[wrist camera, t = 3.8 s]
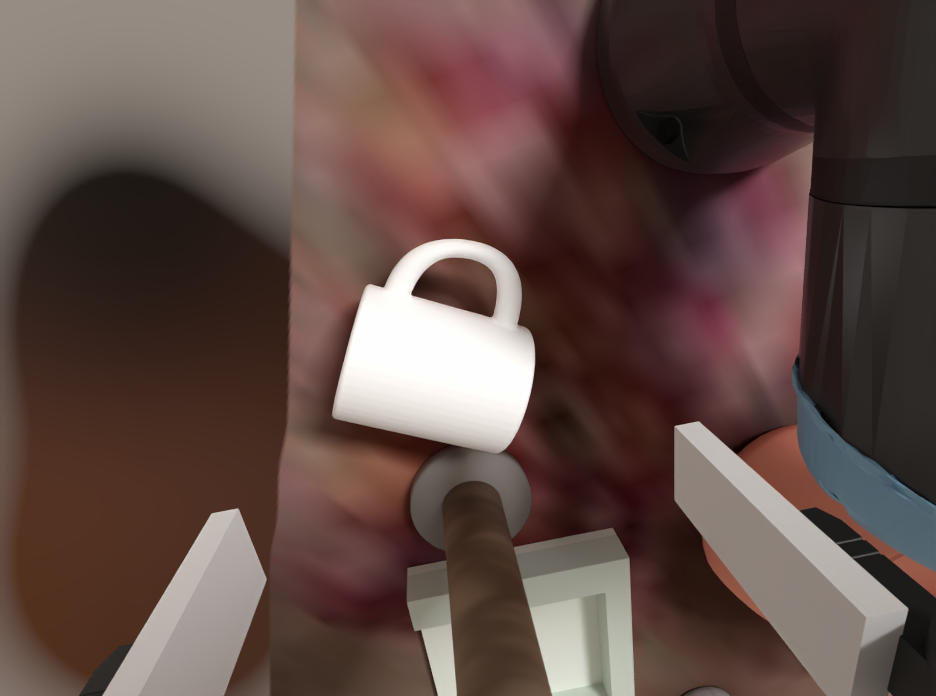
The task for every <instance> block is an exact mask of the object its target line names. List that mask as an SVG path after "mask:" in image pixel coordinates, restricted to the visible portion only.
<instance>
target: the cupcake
mask: <svg viewBox="0 0 936 696" xmlns="http://www.w3.org/2000/svg"><path fill="white" fill-rule="evenodd" d="M683 696H730V695H729V694H728V693H727V692H725V691H724V690H722V689H720V688H717V687H702V688H698V689H695V690H692V691H690V692H688V693H686V694H685V695H683Z"/></svg>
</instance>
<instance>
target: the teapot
mask: <svg viewBox="0 0 936 696" xmlns="http://www.w3.org/2000/svg"><path fill="white" fill-rule="evenodd" d="M737 456H738V457H739V458H741V459H742V460H743V461H744V462H745V463H746V464H747V465H748V466H749V467H751V468H752V469H753V470H754V471H755V472H756V473H757V474H758V475H760V476H761V477H762V478H763V479H764V480H765V481H766V482H767V483H768V484H770V485H771V486H772V487H773V488H774V489H775V490H776V491H777V492H779V493H780V494H781V495H782V496H783V497H784V498H785V499H786V500H787V501H789V502H790V503H791V504H792V505H793V506H794V507H795V508H796V509H798V510H804V509H809V508H814V507H817V508H819V509H821V510H823V511H825V512H827V513H829V514H831V515H833V516H835V517H837V518H839V519H841V520H842V521H843V522H845V523H846V524H847V525H848V526H850V527H851V528H852V529H853V530H854V531H856V532H857V533H858V534H859V535H860V536H862V539H863V540H866V541H868V542H869V543H870V544H871V545H873V546H874V547H875V548H876V549H877V550H879V553H880V554H883V555H885V556H886V557H887V558H888V559H889V560H891V561H892V562H893V563H894V564H896V565H897V566H898V567H899V568H900V569H902V570H903V571H904V572H905V573H906V574H908V575H909V576H910V577H911V578H913V579H914V580H915V581H916V582H917V583H919V584H920V585H921V586H922V587H923V588H925V589H926V590H927V591H928V592H929V593H931V594H932V595H933V596H934V597H936V572H934V571H932V570H930V569H928V568H926V567H924V566H923V565H921V564H919V563H917V562H915V561H913V560H911V559H910V558H908V557H906V556H905V555H903V554H901V553H899V552H898V551H896V550H894V549H893V548H891V547H890V546H888V545H887V544H885V543H884V542H882V541H881V540H879V539H878V538H876V537H875V536H873V535H872V534H871V533H869V532H868V531H867V530H865V529H864V528H863V527H861V526H860V525H859V524H857V523H856V522H855V521H854V520H853V519H852V518H851V517H850V516H849V514H848V513H847V511H846V509H845V507H844V506H843V505H841V504H840V503H838V502H837V501H835V500H834V499H832V498H831V497H830V496H828V495H827V494H826V493H825V492H824V491H823V490H822V489H821V487H820V486H819V485H818V484H817V482H816V481H815V479H814V478H813V476H812V475H811V473H810V472H809V470H808V468H807V466H806V464H805V462H804V460H803V457H802V455H801V452H800V448H799V444H798V437H797V424H794V425H789V426H785V427H781V428H778V429H775V430H772V431H770V432H767V433H765V434H763V435H761V436H760V437H758V438H756V439H755V440H753V441H752V442H751V443H749V444H748V445H747V446H746V447H744V448H743V449H742V450H741V451H740V452H739V453H738V454H737ZM702 540H703V548H704V551H705V555H706V558H707V561H708V563H709V565H710V566H711V568H712V570H713V571H714V572H715V574H716V575H717V576H718V577H719V579H720V580H721V581H722V582H723V583H724V584H725V585H726V586H727V587H728V588H729V589H730V590H731V591H732V592H733V593H734V594H735V595H736V596H737V597H738V598H739V599H740V600H741V601H743V602H744V603H745V604H746V605H747V606H748V607H750V608H751V609H752V610H753V611H755V612H756V613H757V614H759V615H760V616H761V617H763V618H764V619H766V617H765V616H764V615H763V613H762V612H761V611H760V610H759V608H758V607H757V606H756V604H755V603H754V602H753V601H752V599H751V598H750V597H749V595H748V594H747V593H746V592H745V590H744V589H743V588H742V586H741V585H740V584H739V583H738V581H737V580H736V579H735V577H734V576H733V575H732V574H731V572H730V571H729V570H728V568H727V567H726V566H725V565H724V563H723V562H722V561H721V559H720V558H719V557H718V556H717V554H716V553H715V552H714V550H713V549H712V548H711V547H710V545H709V544H708V543H707V541H706V540H705V539H704V538H703V536H702ZM766 620H767V619H766ZM767 621H768V620H767Z"/></svg>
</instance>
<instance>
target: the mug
mask: <svg viewBox="0 0 936 696" xmlns="http://www.w3.org/2000/svg"><path fill="white" fill-rule="evenodd" d="M445 258H466V259H471V260H475V261H478V262H480V263H483V264H484V265H486V266H487V267H488V268H490V270H491V271H492V272H493V274H494V276H495V279H496V284H497V299H496V306H495V310H494V314H493V316H492V317H487V316H484V315H480V314H477V313H473V312H469V311H466V310H462V309H458V308H455V307H451V306H448V305H444V304H440V303H437V302H433V301H429V300H426V299H422V298H419V297H415V296H412V295H411V293H412V290H413V288H414V286H415V284H416V282H417V281H418V279H419V278H420V276H421V275H422V274H423V272H424V271H425V270H426V269H427V268H428V267H430V266H431V265H432V264H434V263H435V262H437V261H439V260H442V259H445ZM521 302H522V288H521V282H520V278H519V275H518V272H517V270H516V268H515V266H514V265H513V263H512V262H511V261H510V260H509V259H508V258H507V257H506V256H505V255H504V254H503V253H501V252H500V251H498V250H497V249H495V248H493V247H491V246H489V245H486V244H483V243H480V242H475V241H470V240H463V239H443V240H437V241H432V242H429V243H425V244H423V245H421V246H418V247H416V248H415V249H413V250H411V251H410V252H409V253H407V254H406V255H405V256H404V257H403V258H402V259H401V260H400V261H399V262H398V263H397V265H396V266H395V267H394V269H393V271H392V272H391V274H390V276H389V278H388V280H387V282H386V285H385V287H383V288H382V287H379V286H375V285H372V284H369V285H367V286H366V287H365V289H364V292H363V295H362V298H361V301H360V304H359V307H358V311H357V314H356V318H355V321H354V325H353V328H352V332H351V335H350V339H349V343H348V347H347V350H346V354H345V358H344V362H343V366H342V370H341V374H340V378H339V382H338V386H337V391H336V395H335V400H334V405H333V410H332V416H333V417H334V418H335V419H338V420H342V421H347V422H351V423H356V424H361V425H365V426H370V427H374V428H379V429H383V430H388V431H393V432H397V433H402V434H406V435H411V436H416V437H420V438H425V439H429V440H434V441H439V442H443V443H448V444H452V445H457V446H462V447H466V448H471V449H475V450H480V451H485V452H489V453H494V454H496V453H500V452H502V451H503V450H504V449H506V448H507V446H508V445H509V444H510V443H511V441H512V440H513V438H514V437H515V435H516V433H517V431H518V429H519V427H520V425H521V422H522V420H523V417H524V414H525V411H526V408H527V405H528V401H529V397H530V393H531V389H532V383H533V377H534V368H535V346H534V340H533V337H532V334H531V332H530V331H529V330H528V329H527V328H526V327H523V326H520V325H518V319H519V315H520V310H521Z"/></svg>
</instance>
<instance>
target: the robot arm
mask: <svg viewBox="0 0 936 696" xmlns="http://www.w3.org/2000/svg"><path fill="white" fill-rule="evenodd" d="M597 58H598V68H599V75H600V79H601V84H602V88H603V91H604V95H605V98H606V100H607V103H608V106H609V108H610V110H611V112H612V115H613V116H614V118H615V120H616V122H617V124H618V125H619V127H620V128H621V130H622V131H623V132H624V134H625V135H626V136H627V138H628V139H629V140H630V141H631V142H632V143H633V144H634V145H635V146H636V147H637V148H638V149H639V150H640V151H641V152H643V153H644V154H645V155H647V156H648V157H650V158H651V159H653V160H654V161H656V162H658V163H660V164H662V165H664V166H667V167H669V168H672V169H675V170H678V171H683V172H688V173H698V174H728V173H737V172H742V171H747V170H751V169H755V168H758V167H762V166H764V165H767V164H770V163H772V162H774V161H777V160H779V159H781V158H783V157H785V156H787V155H789V154H791V153H793V152H794V151H796V150H798V149H800V148H802V147H804V146H806V145H808V144H810V143H812V142H813V159H812V176H811V189H810V193H809V205H808V221H807V237H806V253H805V269H804V284H803V300H802V316H801V332H800V348H799V354H798V355H797V357H796V360H795V364H794V366H793V367H792V384H793V387H794V390H795V393H796V395H797V437H798V444H799V448H800V452H801V455H802V457H803V460H804V462H805V464H806V466H807V468H808V470H809V472H810V473H811V475H812V476H813V478H814V479H815V481H816V482H817V484H818V485H819V486H820V487H821V489H822V490H823V491H824V492H825V493H826V494H827V495H828V496H830V497H831V498H832V499H834V500H835V501H837V502H838V503H840V504H841V505H843V506H844V507H845V509H846V511H847V513H848V514H849V516H850V517H851V518H852V519H853V520H854V521H855V522H856V523H857V524H859V525H860V526H861V527H863V528H864V529H865V530H867V531H868V532H869V533H871V534H872V535H873V536H875V537H876V538H878V539H879V540H881V541H882V542H884V543H885V544H887V545H888V546H890V547H891V548H893V549H894V550H896V551H898V552H899V553H901V554H903V555H905V556H906V557H908V558H910V559H911V560H913V561H915V562H917V563H919V564H921V565H923V566H924V567H926V568H928V569H930V570H932V571H934V572H936V0H602V3H601V7H600V13H599V20H598V29H597ZM674 500H675V502H676V503H677V504H678V505H679V507H680V508H681V509H682V511H683V512H684V513H685V514H686V516H687V517H688V518H689V520H690V521H691V522H692V523H693V525H694V526H695V527H696V529H697V530H698V531H699V532H700V534H701V535H702V536H703V538H704V539H705V540H706V541H707V543H708V544H709V545H710V547H711V548H712V549H713V550H714V552H715V553H716V554H717V556H718V557H719V558H720V559H721V561H722V562H723V563H724V565H725V566H726V567H727V568H728V570H729V571H730V572H731V574H732V575H733V576H734V577H735V579H736V580H737V581H738V583H739V584H740V585H741V586H742V588H743V589H744V590H745V592H746V593H747V594H748V595H749V597H750V598H751V599H752V601H753V602H754V603H755V604H756V606H757V607H758V608H759V610H760V611H761V612H762V613H763V615H764V616H765V617H766V619H767V620H768V621H769V622H770V624H771V625H772V626H773V628H774V629H775V630H776V631H777V633H778V634H779V635H780V637H781V638H782V639H783V640H784V642H785V643H786V644H787V646H788V647H789V648H790V649H791V651H792V652H793V653H794V655H795V656H796V657H797V658H798V660H799V661H800V662H801V664H802V665H803V666H804V667H805V669H806V670H807V671H808V673H809V674H810V675H811V676H812V678H813V679H814V680H815V682H816V683H817V684H818V685H819V687H820V688H821V689H822V691H823V692H824V693H825V694H826V696H888V692H890V693H891V694H892V695H893V696H936V597H934V596H933V595H932V594H931V593H929V592H928V591H927V590H926V589H925V588H923V587H922V586H921V585H920V584H919V583H917V582H916V581H915V580H914V579H913V578H911V577H910V576H909V575H908V574H906V573H905V572H904V571H903V570H902V569H900V568H899V567H898V566H897V565H896V564H894V563H893V562H892V561H891V560H889V559H888V558H887V557H886V556H885V555H883V554H880V553H879V550H877V549H876V548H875V547H874V546H873V545H871V544H870V543H869V542H868V541H866V540H863V539H862V536H860V535H859V534H858V533H857V532H856V531H854V530H853V529H852V528H851V527H850V526H848V525H847V524H846V523H845V522H843V521H842V520H841V519H839V518H837V517H835V516H833V515H831V514H829V513H827V512H825V511H823V510H821V509H819V508H817V507H814V508H809V509H804V510H798V509H796V508H795V507H794V506H793V505H792V504H791V503H790V502H789V501H787V500H786V499H785V498H784V497H783V496H782V495H781V494H780V493H779V492H777V491H776V490H775V489H774V488H773V487H772V486H771V485H770V484H768V483H767V482H766V481H765V480H764V479H763V478H762V477H761V476H760V475H758V474H757V473H756V472H755V471H754V470H753V469H752V468H751V467H749V466H748V465H747V464H746V463H745V462H744V461H743V460H742V459H741V458H739V457H738V456H737V455H736V454H735V453H734V452H733V451H732V450H730V449H729V448H728V447H727V446H726V445H725V444H724V443H723V442H721V441H720V440H719V439H718V438H717V437H716V436H715V435H714V434H713V433H711V432H710V431H709V430H708V429H707V428H706V427H705V426H704V425H702V424H701V423H700V422H699V421H698V422H693V423H688V424H683V425H677V426H674ZM266 580H267V579H266V576H265V574H264V571H263V569H262V566H261V564H260V561H259V559H258V556H257V554H256V551H255V549H254V547H253V544H252V541H251V539H250V537H249V534H248V532H247V529H246V527H245V524H244V522H243V519H242V517H241V514H240V512H239V509H233V510H228V511H222V512H217V513H212V514H211V516H210V517H209V519H208V521H207V522H206V524H205V526H204V527H203V529H202V531H201V532H200V534H199V536H198V537H197V539H196V541H195V542H194V544H193V546H192V548H191V549H190V551H189V552H188V554H187V556H186V557H185V559H184V561H183V562H182V564H181V566H180V567H179V569H178V571H177V573H176V574H175V576H174V577H173V579H172V581H171V583H170V584H169V586H168V587H167V589H166V591H165V593H164V594H163V596H162V597H161V599H160V601H159V603H158V604H157V606H156V607H155V609H154V611H153V612H152V614H151V616H150V617H149V619H148V621H147V623H146V624H145V626H144V627H143V629H142V631H141V632H140V634H139V636H138V637H137V639H136V641H135V642H134V644H129V645H123V646H119V647H118V648H117V649H116V650H115V651H114V652H113V653H112V654H111V655H110V656H109V657H108V658H107V659H106V660H105V661H104V662H103V663H102V664H101V665H100V666H99V667H98V668H97V669H96V670H95V672H94V673H93V675H92V676H91V678H90V679H89V681H88V683H87V684H86V686H85V687H84V689H83V690H82V692H81V693H80V695H79V696H224V694H225V691H226V689H227V686H228V683H229V681H230V678H231V675H232V672H233V670H234V667H235V664H236V662H237V659H238V656H239V653H240V651H241V648H242V645H243V643H244V640H245V637H246V634H247V632H248V629H249V626H250V623H251V621H252V618H253V616H254V613H255V610H256V607H257V604H258V602H259V599H260V597H261V594H262V591H263V588H264V586H265V583H266Z"/></svg>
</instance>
